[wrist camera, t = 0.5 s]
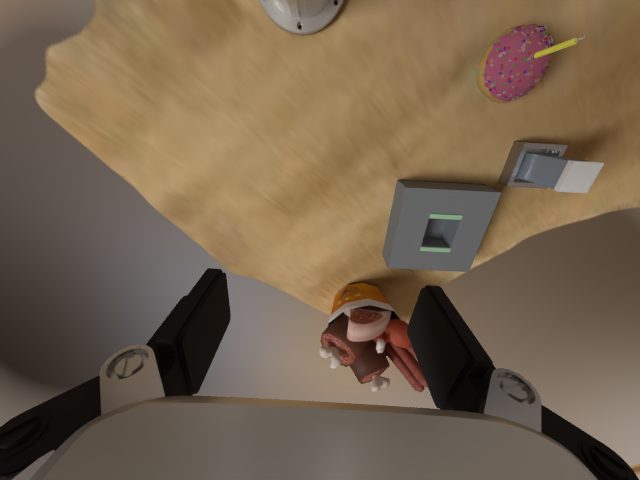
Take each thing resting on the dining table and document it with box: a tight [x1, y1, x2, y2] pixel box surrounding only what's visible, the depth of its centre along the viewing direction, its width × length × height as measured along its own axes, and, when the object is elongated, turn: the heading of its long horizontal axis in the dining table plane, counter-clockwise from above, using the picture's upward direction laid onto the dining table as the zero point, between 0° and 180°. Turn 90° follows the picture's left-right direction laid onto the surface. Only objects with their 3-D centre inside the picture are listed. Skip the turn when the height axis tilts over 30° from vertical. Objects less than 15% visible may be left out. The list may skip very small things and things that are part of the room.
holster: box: [498, 141, 568, 189], centre depth 41 cm, size 7×7×2 cm
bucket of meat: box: [319, 283, 428, 392], centre depth 48 cm, size 20×16×20 cm
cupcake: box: [477, 24, 586, 103], centre depth 31 cm, size 9×8×12 cm
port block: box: [382, 180, 502, 272], centre depth 45 cm, size 16×16×5 cm
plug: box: [516, 152, 604, 193], centre depth 38 cm, size 4×4×10 cm
